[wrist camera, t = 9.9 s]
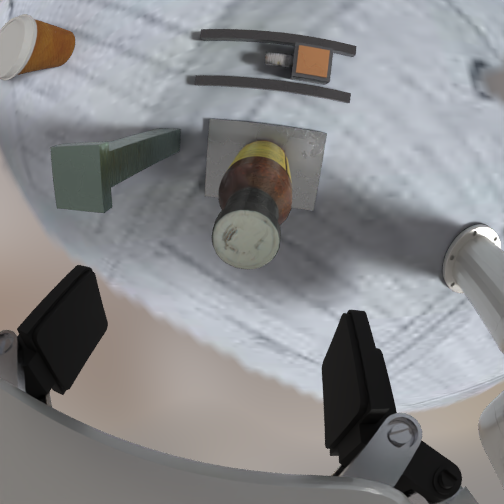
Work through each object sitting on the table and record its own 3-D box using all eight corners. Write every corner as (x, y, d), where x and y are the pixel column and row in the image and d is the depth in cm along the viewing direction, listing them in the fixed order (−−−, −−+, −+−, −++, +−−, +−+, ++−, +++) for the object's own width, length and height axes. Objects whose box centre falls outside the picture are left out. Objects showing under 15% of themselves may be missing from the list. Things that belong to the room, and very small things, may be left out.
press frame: (353, 48, 26) (419, 0, 9) (327, 210, 37) (357, 304, 20) (160, 35, 27) (63, 0, 10) (152, 188, 38) (66, 256, 21)
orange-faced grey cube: (328, 54, 27) (333, 48, 23) (324, 84, 29) (330, 81, 25) (268, 46, 27) (266, 37, 23) (265, 76, 29) (262, 71, 25)
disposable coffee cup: (88, 55, 28) (30, 52, 18) (47, 86, 30) (-8, 94, 20) (78, 10, 24) (25, 0, 14) (38, 43, 26) (-14, 44, 16)
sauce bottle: (228, 154, 33) (164, 213, 16) (272, 129, 31) (257, 159, 14) (255, 198, 36) (225, 296, 19) (299, 176, 34) (313, 258, 17)
